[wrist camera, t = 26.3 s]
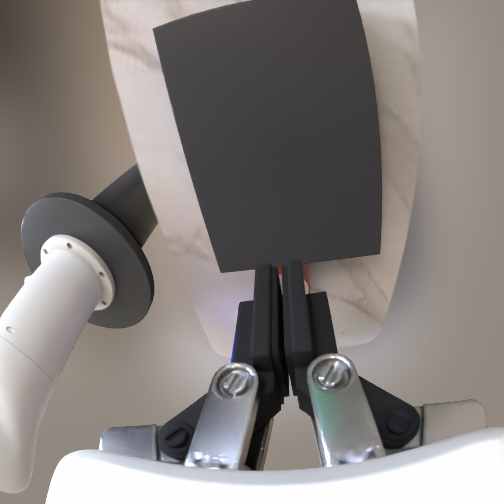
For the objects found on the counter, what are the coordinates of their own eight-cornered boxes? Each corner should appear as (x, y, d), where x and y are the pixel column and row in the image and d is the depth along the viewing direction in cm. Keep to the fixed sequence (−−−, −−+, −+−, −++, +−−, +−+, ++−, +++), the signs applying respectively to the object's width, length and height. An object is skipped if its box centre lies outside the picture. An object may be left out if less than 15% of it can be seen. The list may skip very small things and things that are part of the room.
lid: (378, 249, 22) (380, 254, 22) (222, 268, 25) (220, 273, 24) (351, -5, 11) (354, -7, 11) (156, 29, 14) (152, 28, 13)
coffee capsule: (261, 253, 31) (259, 275, 28) (305, 248, 30) (308, 270, 27) (269, 286, 33) (267, 308, 30) (309, 281, 32) (311, 304, 29)
